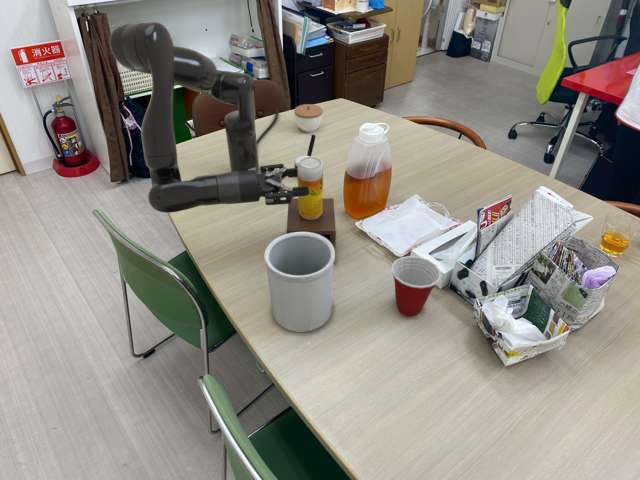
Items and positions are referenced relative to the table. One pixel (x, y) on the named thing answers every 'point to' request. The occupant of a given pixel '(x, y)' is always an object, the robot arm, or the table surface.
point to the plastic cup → (413, 283)
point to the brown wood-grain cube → (318, 226)
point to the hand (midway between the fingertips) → (305, 180)
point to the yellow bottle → (311, 187)
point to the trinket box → (308, 117)
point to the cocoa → (308, 151)
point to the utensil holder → (300, 280)
